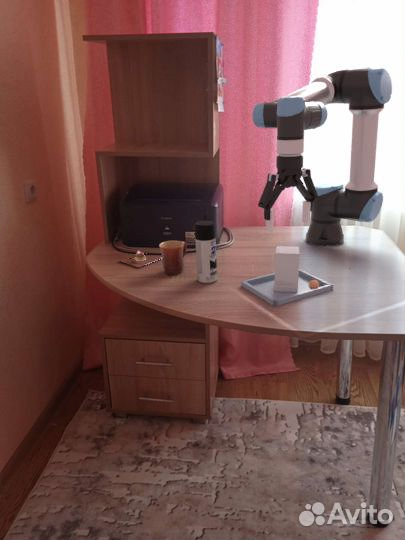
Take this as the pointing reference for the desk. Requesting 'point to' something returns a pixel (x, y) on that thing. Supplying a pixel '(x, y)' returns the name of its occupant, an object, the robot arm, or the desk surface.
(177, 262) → the mug
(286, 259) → the supplement box
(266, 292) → the tray
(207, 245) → the spray can
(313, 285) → the ball
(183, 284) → the desk surface
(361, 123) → the robot arm
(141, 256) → the dessert
